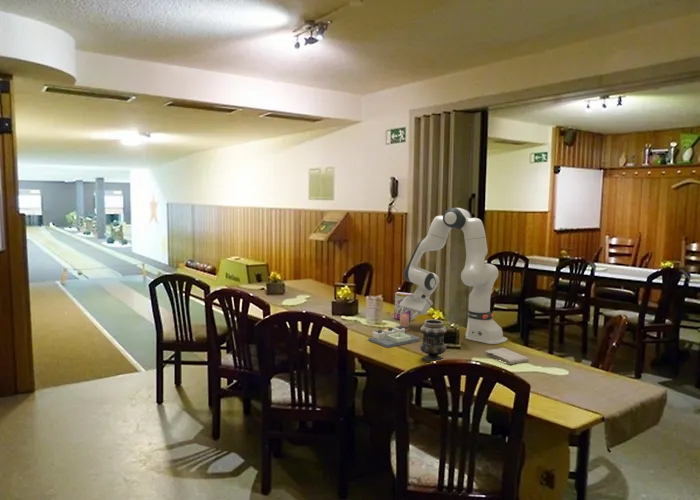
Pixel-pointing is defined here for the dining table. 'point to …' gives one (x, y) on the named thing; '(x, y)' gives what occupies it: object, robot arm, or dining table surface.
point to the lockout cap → (404, 321)
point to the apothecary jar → (433, 340)
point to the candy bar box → (398, 298)
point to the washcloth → (506, 356)
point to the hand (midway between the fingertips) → (406, 316)
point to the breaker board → (392, 337)
